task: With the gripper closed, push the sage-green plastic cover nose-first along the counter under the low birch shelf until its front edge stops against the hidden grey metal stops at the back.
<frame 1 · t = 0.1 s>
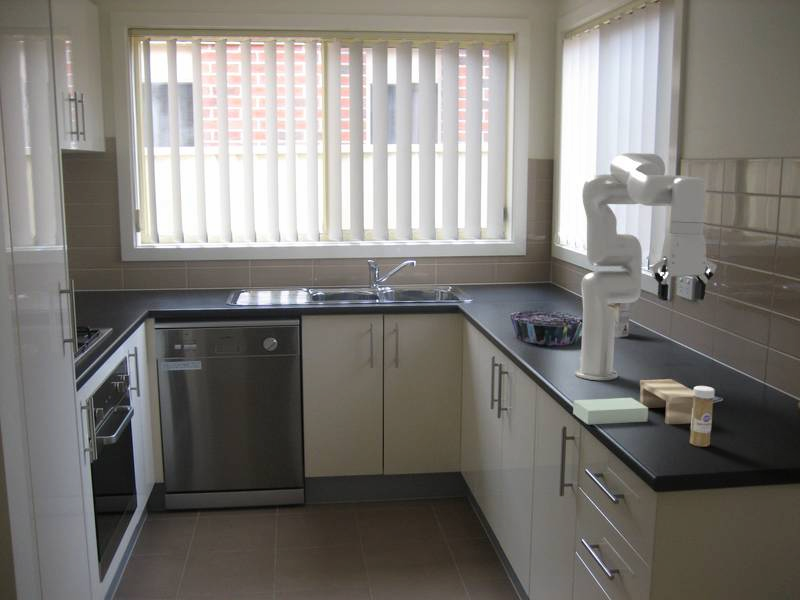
hand: (680, 299, 207), 31 cm above the countertop, fingers open, 9 cm apart
birch shelf: (669, 414, 218), on the countertop
sprinkles bottle: (699, 444, 196), on the countertop
sage cover: (609, 417, 215), on the countertop
decorative bowl: (547, 340, 305), on the countertop
coffee box: (613, 335, 314), on the countertop
smartphone: (692, 397, 236), on the countertop
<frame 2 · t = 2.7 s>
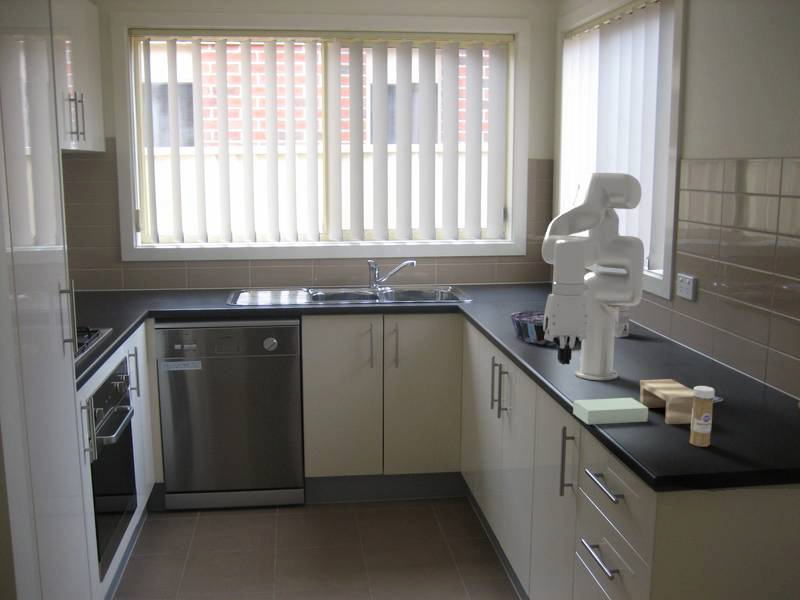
hand: (564, 363, 210), 15 cm above the countertop, fingers closed
nothing on the countertop moved.
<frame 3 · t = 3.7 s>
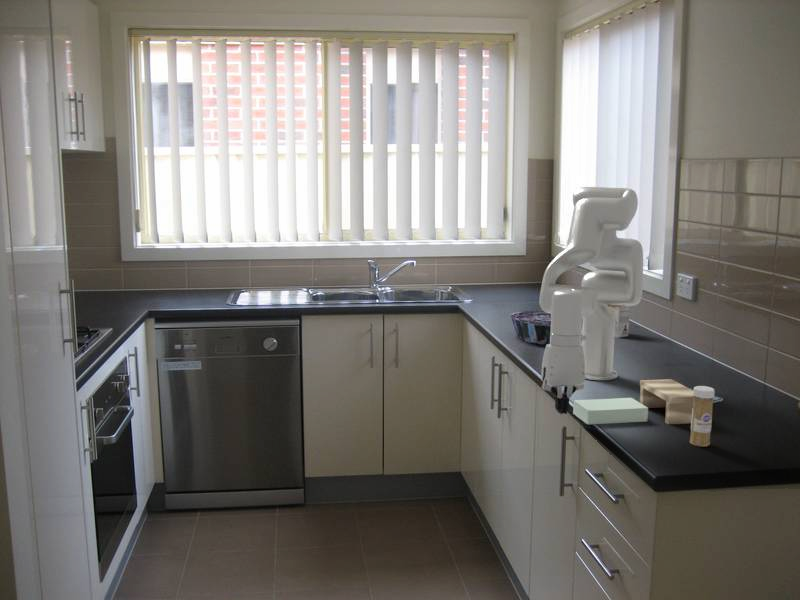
hand: (561, 412, 212), 2 cm above the countertop, fingers closed
nothing on the countertop moved.
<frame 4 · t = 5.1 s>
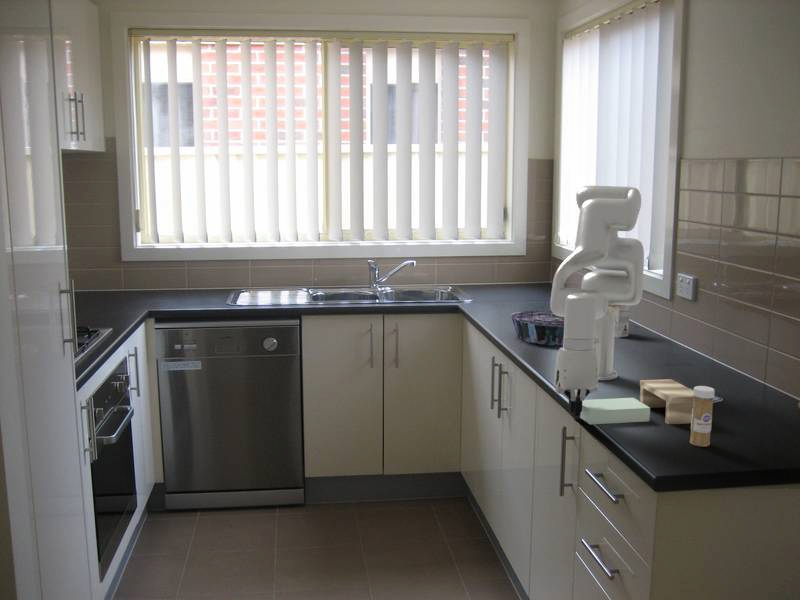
hand: (574, 414, 213), 1 cm above the countertop, fingers closed
sage cover: (611, 417, 215), on the countertop, touching gripper
everything else where it was.
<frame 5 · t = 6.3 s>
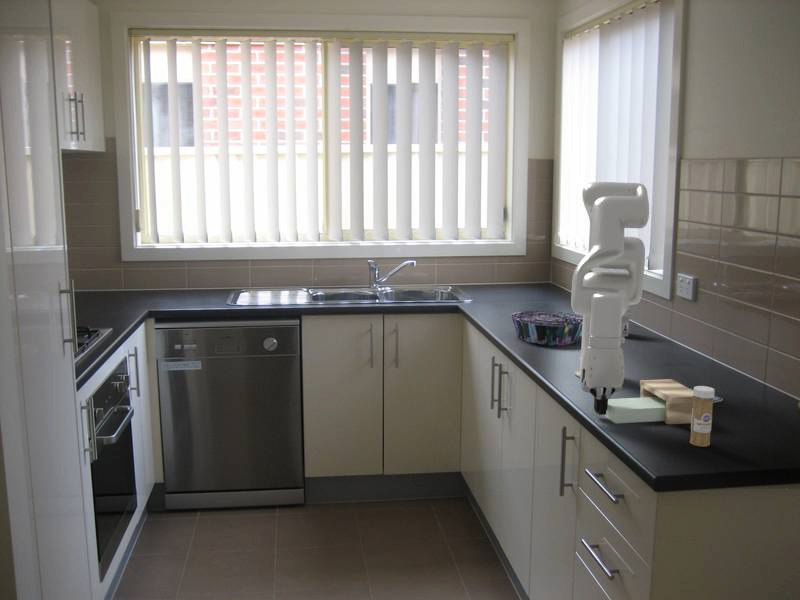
hand: (600, 413, 214), 1 cm above the countertop, fingers closed
sage cover: (636, 416, 216), on the countertop, touching gripper
everything else where it was.
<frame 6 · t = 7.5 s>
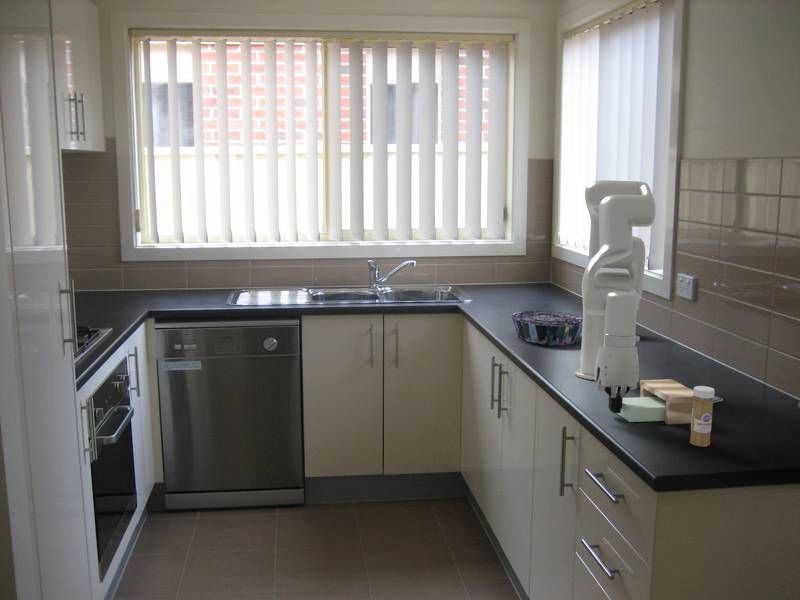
hand: (615, 411, 215), 2 cm above the countertop, fingers closed
sage cover: (650, 415, 217), on the countertop, touching birch shelf, gripper
everything else where it was.
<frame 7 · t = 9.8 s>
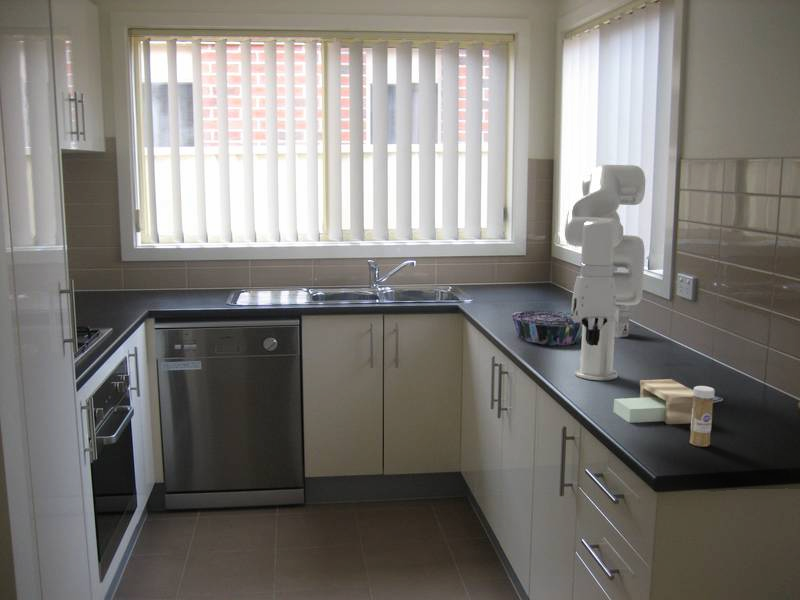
hand: (592, 344, 211), 19 cm above the countertop, fingers closed
sage cover: (650, 415, 217), on the countertop
everything else where it was.
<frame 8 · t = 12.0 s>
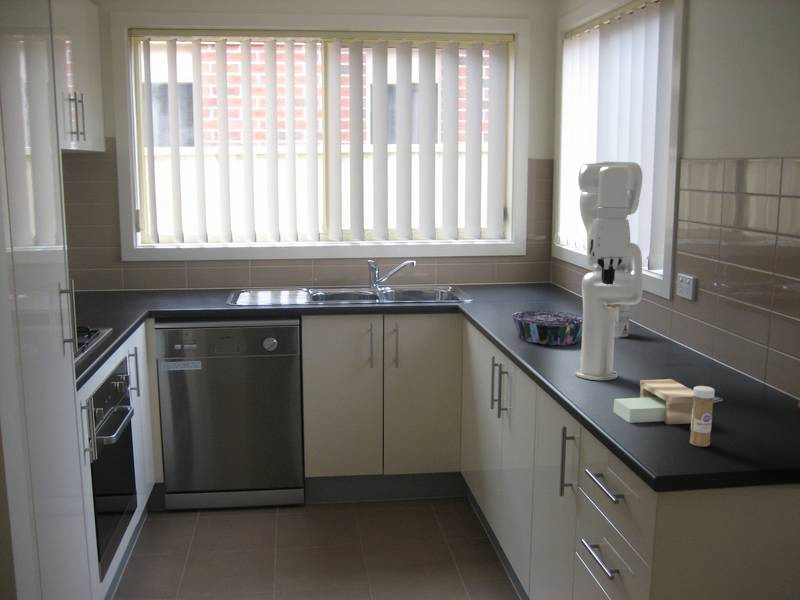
hand: (607, 283, 224), 32 cm above the countertop, fingers closed
at the end: sage cover 0.5 cm from the target spot, on the countertop; sage cover tilted 0°; sage cover moved 11.0 cm from its start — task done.
